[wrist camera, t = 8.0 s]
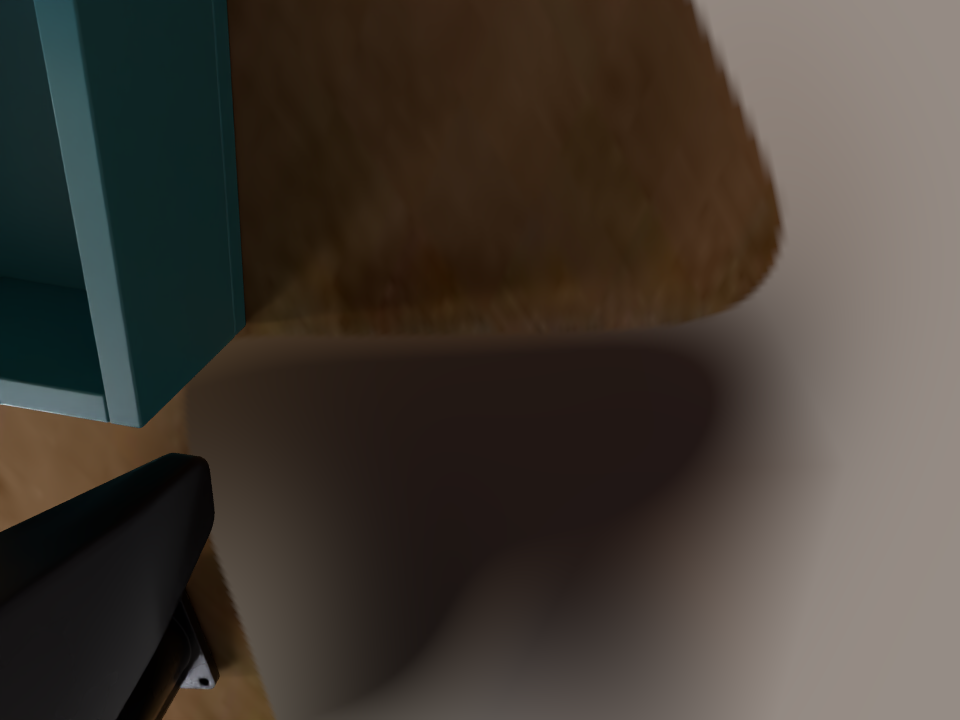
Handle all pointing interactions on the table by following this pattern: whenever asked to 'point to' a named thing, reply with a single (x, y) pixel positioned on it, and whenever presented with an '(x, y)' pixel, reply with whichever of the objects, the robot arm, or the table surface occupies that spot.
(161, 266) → the cool box
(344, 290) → the table surface
